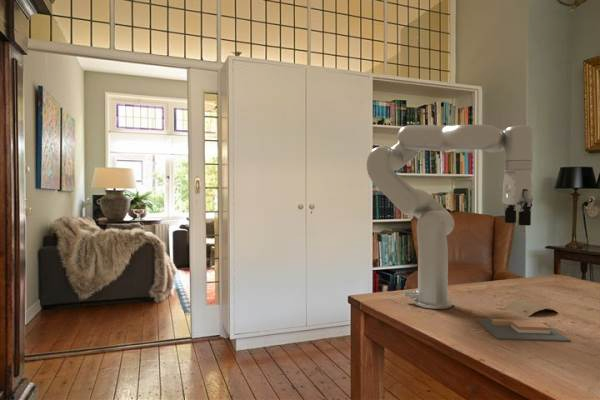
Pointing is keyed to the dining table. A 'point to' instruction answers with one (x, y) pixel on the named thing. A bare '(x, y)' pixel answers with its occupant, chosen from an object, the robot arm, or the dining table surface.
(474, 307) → the dining table surface
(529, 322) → the tile
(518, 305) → the clay tablet
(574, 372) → the dining table surface
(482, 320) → the mat
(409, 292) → the robot arm
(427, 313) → the dining table surface
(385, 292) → the dining table surface
